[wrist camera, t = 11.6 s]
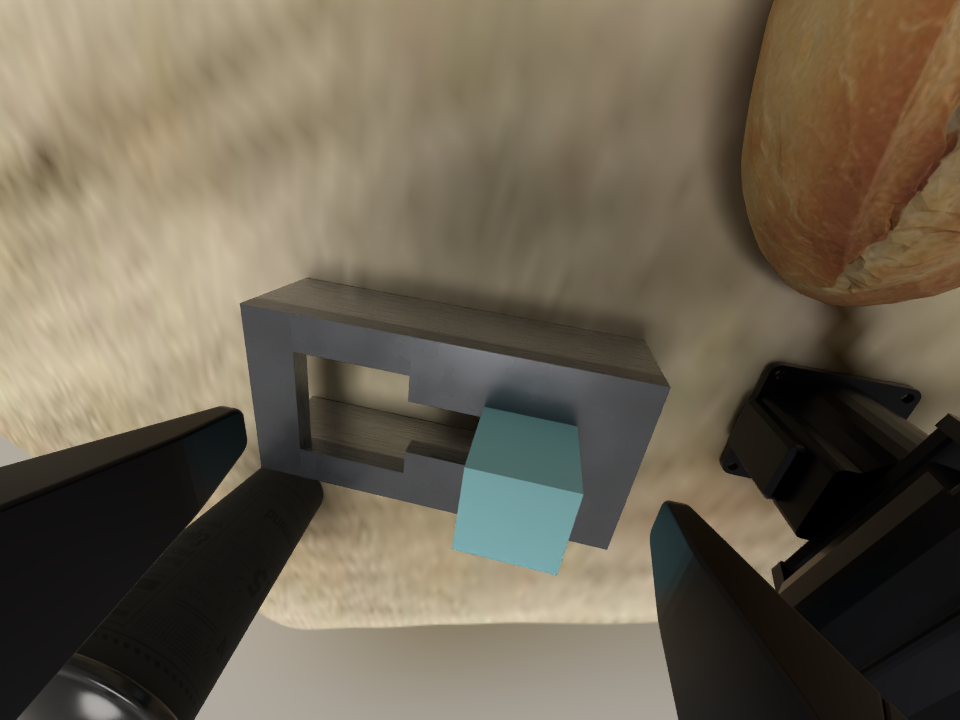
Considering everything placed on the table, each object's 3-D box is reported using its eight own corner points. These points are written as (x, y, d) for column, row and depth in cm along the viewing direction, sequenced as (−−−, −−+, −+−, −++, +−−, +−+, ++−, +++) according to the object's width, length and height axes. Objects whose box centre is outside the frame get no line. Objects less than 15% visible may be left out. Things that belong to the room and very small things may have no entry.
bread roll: (681, 291, 18) (761, 360, 11) (751, -175, 12) (1019, -662, 5) (924, 288, 17) (1203, 367, 10) (1141, -254, 11) (2318, -1130, 4)
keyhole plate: (644, 340, 20) (670, 387, 15) (597, 479, 23) (607, 549, 19) (306, 278, 21) (239, 303, 17) (313, 416, 25) (261, 467, 21)
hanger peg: (578, 383, 20) (591, 490, 13) (559, 454, 21) (560, 580, 15) (492, 366, 20) (459, 461, 13) (480, 436, 22) (446, 551, 15)
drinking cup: (271, 529, 31) (-135, 1025, 13) (224, 448, 28) (-381, 932, 10) (357, 524, 29) (24, 1100, 11) (316, 436, 26) (-228, 1012, 8)
